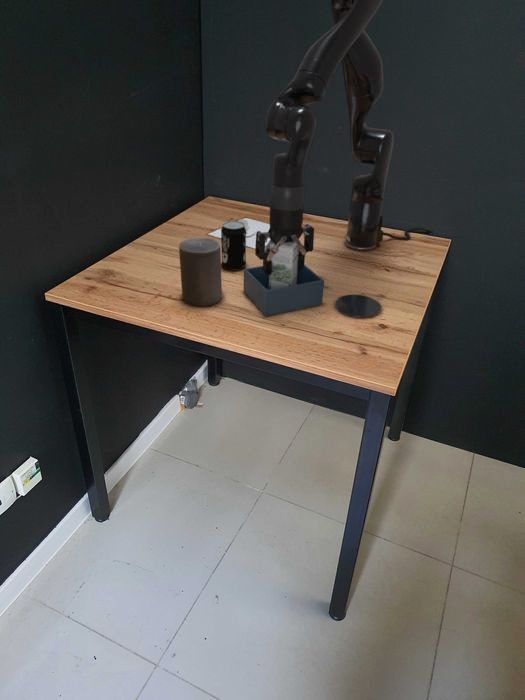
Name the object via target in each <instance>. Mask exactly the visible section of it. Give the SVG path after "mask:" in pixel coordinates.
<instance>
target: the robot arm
mask: <svg viewBox="0 0 525 700" xmlns="http://www.w3.org/2000/svg"><path fill="white" fill-rule="evenodd" d="M328 1H329V6H330V10H331V14H332V19H333V23H334V26H333V27H331V28H329V30H328V31H327V32H325V33H324V34H323V35H322V36H321V37H320V38H318V39H317V40H316V41H314V43H313V44H312V45H311V46H310V47H309V48H308V51H307V52H306V54H305V55H304V57H303V59H302V61H301V62H300V65H299V67H298V69H297V71H296V73H295V75H294V77H293V79H292V80H291V81H290V82H289V83H288V84H287V85H286V86H285V87H284V89H283V90H282V91H281V92H280V93H279V94H278V96H276V98H275V99H274V101H273V102H272V104H270V106H269V109H268V110H267V113H266V116H265V124H264V126H265V131H266V133H267V135H268V136H269V137H271V138H272V139H274V140H277V141H280V142H287V143H290V144H289V148H288V151H285V152H279V153H277V154H275V155H274V156H273V158H272V164H271V166H272V168H271V185H270V186H271V187H270V192H269V193H270V194H269V221H268V222H269V224H270V229H269V231H268V232H263V233H261V232H260V231H258V232H257V233H256V248H254V254H255V256H256V257H257V258H258V259H259V260H260V261H262V266H263V271H264V272H265V273H266V274H267V275H271V268H272V261H271V259H272V257H273V256H274V254H276V253H277V252H278V250H279V247H280V246H281V245H282V244H283V243H287V242H296V243H297V248H298V250H299V256H298V269H299V270H301V269H302V267H304V265H305V259H306V255H307V253H309V252H313V251H314V243H315V242H314V241H315V227H313V226H311V224H308V223H307V224H304V226H303V222H304V209H305V175H306V165H307V161H308V157H309V154H310V151H311V147H312V144H313V141H314V138H315V135H316V132H317V117H316V114H315V111H314V110H313V109H312V108H310V107H309V106H313V105H317V104H318V103H320V102H321V101H322V99H323V98H324V96H325V95H326V93H327V91H328V88H329V86H330V85H331V82H332V80H333V79H334V76H335V75H336V72H337V71H338V69H339V67H340V65H341V66H342V74H343V75H342V76H343V84H344V90H345V96H346V103H347V109H348V118H349V140H350V141H349V143H350V153H351V157H352V159H353V160H354V161H355V162H357V163H359V164H367V165H373V167H374V168H373V170H372V171H370V172H367V173H363V174H358V175H356V176H355V177H354V178H353V180H352V186H351V196H350V203H349V211H348V212H349V213H348V220H347V229H346V233H345V234H344V239H345V241H344V242H345V243H344V244H345V246H346V247H347V248H350V249H352V250H356V251H370V250H374V249H376V248H377V247H379V246H380V242H383V238H384V236H385V237H389V238H391V239H394V240H395V239H396V240H401V241H402V240H403V241H404V240H410V238H411V234H410V233H409V232H412V231H413V232H414V231H418V230H419V231H420V230H421V231H426V232H427V233H428V234H431V233H432V232H431V230H430V229H429V230H425V229H424V228H425V227H424V228H422V227H423V226H417V227H411V228H407V229H405V230H404V235H406V236H397V235H394V234H391V233H389V232H384V230H382V226H383V221H384V215H383V214H382V209H383V202H384V196H385V190H386V183H387V180H388V174H389V169H390V163H391V158H392V155H393V150H394V144H395V143H394V142H395V141H394V139H395V137H394V132H393V131H392V130H389V129H383V128H375V127H369V126H368V125H367V118H368V115H369V114H370V112H371V111H372V109H373V108H374V107H375V105H376V104H377V102H378V101H379V99H380V98H381V95H382V93H383V90H384V68H383V67H384V66H383V60H382V56H381V55H380V53H379V51H378V49H377V47H376V46H375V44H374V43H373V41H372V39H371V38H370V36H369V35H368V33H367V32H366V30H365V29H366V27H367V26H368V24H369V23H370V22H371V20H372V19H373V17H374V16H375V14H376V13H377V12H378V10H379V8H380V7H381V5H382V4H383V1H384V0H328ZM302 235H304V236H303V243H302V242H301V240H300V238H301V237H302ZM268 238H270V239H271V240H270V241H269V243H268V244H267V245H266V246H265V242H267V239H268ZM271 242H273V243H274V244H275V246H274V247H273V248H272V247H271V248H270V244H271Z"/></svg>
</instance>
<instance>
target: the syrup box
mask: <svg viewBox="0 0 525 700" xmlns="http://www.w3.org/2000/svg"><path fill="white" fill-rule="evenodd" d="M274 246H275V244H274V243H273V242H271V244H270V248H271V247H272V248H273V247H274ZM298 256H299V250H298V248H297V243H296V242H287V243H283V244H282V245H281V246H280V247H279V250H278V252H277V253H276V254H274V256H273V257H272V259H271V261H272V268H271V275H269V290H272V289H277V288H282V287H288V286H293V285H297V269H298Z"/></svg>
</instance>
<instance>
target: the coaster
mask: <svg viewBox="0 0 525 700" xmlns="http://www.w3.org/2000/svg"><path fill="white" fill-rule="evenodd" d="M334 307H335V309H336V310H337V311H338V312H339V313H340V314H342V315H344V316H346V317H350V318H354V319H355V318H356V319H370V318H373V317H375V316H378V315H379V314H381V312H382V305H381V304H380V302H379V301H377V300H376V299H374V298H373V297H369V296H368V295H362V294H346V295H341V296H340V297H338V298H337V299H335V303H334Z"/></svg>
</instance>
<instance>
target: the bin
mask: <svg viewBox="0 0 525 700" xmlns="http://www.w3.org/2000/svg"><path fill="white" fill-rule="evenodd" d="M324 289H325V279H323V278H322V277H320V275H318V274H317V273H315V272H314V271H313V270H312V269H311V268H310V267H308V265H306V264H304V267H302V269H301V270H299V269H297V285H293V286H288V287H282V288H277V289H272V290H269V275H267V274H266V273H265V272H264V271H263V265H259V266H253V267H247V268H243V293H244V294H245V296H246V297H247V298H248V299H249V300H250V301H251V302H252V303H253V304H254V305H255V306H256V307H257V308H258V310H259V311H260V312H261V314H263V315H264V316H265V317H270V316H274V315H278V314H283V313H287V312H293V311H298V310H302V309H307V308H311V307H315V306H321V305H323V301H324V300H323V299H324Z"/></svg>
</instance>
